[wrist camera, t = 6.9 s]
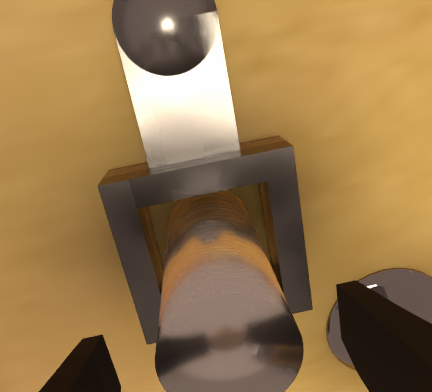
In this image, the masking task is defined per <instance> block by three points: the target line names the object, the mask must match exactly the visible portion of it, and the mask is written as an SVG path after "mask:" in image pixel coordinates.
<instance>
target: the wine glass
mask: <svg viewBox="0 0 432 392" xmlns="http://www.w3.org/2000/svg"><path fill="white" fill-rule="evenodd" d="M358 282H360V283H361V284H363V285H365V286H366V287H368V288H370V289H371V290H373V291H375V292H376V293H378V294H380V295H381V296H383V297H385V298H387V299H388V300H390V301H392V302H393V303H395V304H397V305H398V306H400V307H402V308H404V309H406V310H407V311H409V312H411V313H413V314H414V315H416V316H418V317H420V318H422V319H424V320H426V321H428V322H429V323H431V324H432V277H430V276H428V275H426V274H425V273H423V272H420V271H417V270H413V269H406V268H393V269H387V270H382V271H379V272H376V273H373V274H370V275H368V276H366V277H364V278H362V279H360V280H359V281H358ZM326 332H327V341H328V344H329V347H330V349H331V351H332V352H333V354H334V355H335V356H336V358H337V359H338V360H339V361H340V362H342V363H343V364H345V365H346V366H348V367H350V368H352V369H354V370H356V369H355V367H354V365H353V363H352V361H351V359H350V357H349V355H348V352H347V350H346V348H345V346H344V344H343V341H342V339H341V331H340V320H339V309H338V300H337V302H336V303H335V305H334V307H333V309H332V310H331V313H330V315H329V318H328V322H327V329H326Z"/></svg>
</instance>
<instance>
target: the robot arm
mask: <svg viewBox="0 0 432 392" xmlns="http://www.w3.org/2000/svg"><path fill="white" fill-rule="evenodd" d="M336 287H337V298H338V309H339V320H340V331H341V339H342V341H343V344H344V346H345V348H346V350H347V352H348V355H349V357H350V359H351V361H352V363H353V365H354V367H355V369H356V371H357V372H358V374H359V376H360V377H361V379H362V381H363V382H364V384H365V386H366V387H367V389H368V390H369V392H432V324H431V323H429V322H428V321H426V320H424V319H422V318H420V317H418V316H416V315H414V314H413V313H411V312H409V311H407V310H406V309H404V308H402V307H400V306H398V305H397V304H395V303H393V302H392V301H390V300H388V299H387V298H385V297H383V296H381V295H380V294H378V293H376V292H375V291H373V290H371V289H370V288H368V287H366V286H365V285H363V284H361V283H360V282H358V281H356V280H355V281H351V282H346V283H341V284H337V285H336ZM39 392H121V385H120V382H119V379H118V376H117V374H116V371H115V368H114V365H113V362H112V360H111V357H110V354H109V351H108V348H107V346H106V343H105V340H104V337H103V335H98V336H94V337H89V338H84V339H82V340H81V341H80V342H79V344H78V345H77V346H76V347H75V348H74V349H73V351H72V352H71V353H70V354H69V356H68V357H67V358H66V359H65V361H64V362H63V363H62V364H61V366H60V367H59V368H58V369H57V370H56V372H55V373H54V374H53V375H52V377H51V378H50V379H49V380H48V381H47V383H46V384H45V385H44V386H43V387H42V389H41V390H40V391H39Z"/></svg>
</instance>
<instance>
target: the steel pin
mask: <svg viewBox="0 0 432 392" xmlns="http://www.w3.org/2000/svg"><path fill="white" fill-rule="evenodd" d="M302 360H303V341H302V337H301V334H300V331H299V329H298V327H297V324H296V322H295V320H294V317H293V315H292V313H291V311H290V308H289V306H288V304H287V301H286V299H285V297H284V294H283V292H282V290H281V288H280V285H279V283H278V281H277V278H276V276H275V274H274V272H273V269H272V267H271V265H270V262H269V260H268V258H267V256H266V253H265V251H264V249H263V246H262V244H261V242H260V239H259V237H258V235H257V233H256V230H255V228H254V226H253V223H252V221H251V219H250V217H249V214H248V212H247V210H246V207H245V206H244V204H243V203H242V201H241V200H240V199H239V198H238V197H237V196H236V195H234V194H233V193H231V192H229V191H227V190H223V191H218V192H213V193H208V194H203V195H198V196H193V197H189V198H184V199H179V200H178V202H177V203H176V204H175V206H174V207H173V209H172V211H171V214H170V217H169V225H168V235H167V245H166V254H165V264H164V274H163V284H162V294H161V304H160V314H159V324H158V334H157V344H156V354H155V368H156V372H157V376H158V378H159V381H160V383H161V384H162V386H163V388H164V389H165V390H166V392H284V391H285V390H286V389H287V388H288V387H289V386H290V385H291V384H292V382H293V381H294V379H295V378H296V376H297V374H298V372H299V370H300V367H301V364H302Z"/></svg>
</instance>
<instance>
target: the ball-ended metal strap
mask: <svg viewBox="0 0 432 392" xmlns="http://www.w3.org/2000/svg"><path fill="white" fill-rule="evenodd" d="M112 22H113V28H114V33H115V37H116V41H117V45H118V48H119V52H120V56H121V60H122V64H123V68H124V72H125V76H126V79H127V83H128V87H129V91H130V95H131V99H132V103H133V107H134V111H135V114H136V118H137V122H138V126H139V130H140V134H141V138H142V142H143V145H144V149H145V153H146V157H147V161H148V162H147V163H142V164H138V165H133V166H128V167H123V168H118V169H113V170H109V171H108V172H107V174H106V175H105V176H104V178H103V179H102V181H101V182H100V183H99V185H98V189H99V192H100V195H101V199H102V202H103V205H104V208H105V211H106V215H107V218H108V221H109V224H110V227H111V231H112V234H113V237H114V240H115V243H116V247H117V250H118V253H119V256H120V259H121V263H122V266H123V269H124V272H125V276H126V279H127V282H128V285H129V288H130V292H131V295H132V298H133V301H134V304H135V308H136V311H137V314H138V317H139V320H140V324H141V327H142V330H143V333H144V336H145V340H146V343H147V344H152V343H157V334H158V324H159V314H160V304H161V294H162V284H163V274H164V268H163V265H162V261H161V257H160V253H159V250H158V246H157V242H156V239H155V235H154V231H153V228H152V224H151V220H150V216H149V213H148V209H147V206H150V205H155V204H159V203H164V202H169V201H174V200H179V199H184V198H189V197H193V196H198V195H203V194H208V193H213V192H218V191H223V190H227V189H232V188H237V187H242V186H247V185H252V184H257V183H259V186H260V193H261V199H262V205H263V212H264V218H265V225H266V231H267V237H268V244H269V250H270V256H271V263H272V269H273V272H274V274H275V276H276V278H277V281H278V283H279V285H280V288H281V290H282V292H283V294H284V297H285V299H286V301H287V304H288V306H289V308H290V311H291V313H292V314H293V313H298V312H303V311H308V310H312V309H313V308H312V299H311V291H310V283H309V274H308V266H307V257H306V249H305V241H304V232H303V224H302V216H301V207H300V199H299V190H298V182H297V174H296V165H295V157H294V148H293V145H291V144H290V143H288V142H287V141H286V140H284V139H283V138H281V137H280V136H275V137H270V138H265V139H260V140H255V141H250V142H245V143H241V144H239V139H238V133H237V127H236V121H235V115H234V109H233V103H232V97H231V92H230V86H229V80H228V74H227V68H226V62H225V56H224V50H223V44H222V38H221V32H220V26H219V20H218V15H217V9H216V5H215V2H214V0H114V3H113V8H112Z"/></svg>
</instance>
